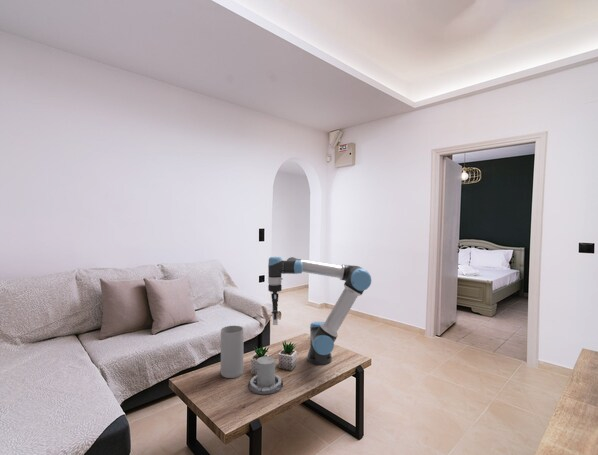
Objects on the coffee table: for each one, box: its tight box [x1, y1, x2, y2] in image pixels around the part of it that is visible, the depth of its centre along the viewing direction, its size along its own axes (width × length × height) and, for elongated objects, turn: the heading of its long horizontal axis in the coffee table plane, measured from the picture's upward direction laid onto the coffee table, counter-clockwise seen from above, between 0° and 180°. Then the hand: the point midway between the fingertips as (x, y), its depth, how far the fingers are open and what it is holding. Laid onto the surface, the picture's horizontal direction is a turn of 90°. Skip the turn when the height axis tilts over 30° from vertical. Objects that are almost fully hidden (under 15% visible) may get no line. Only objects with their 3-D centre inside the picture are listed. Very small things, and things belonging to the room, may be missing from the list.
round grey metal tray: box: [248, 373, 284, 396], centre depth 165 cm, size 18×18×2 cm
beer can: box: [256, 355, 276, 387], centre depth 165 cm, size 10×10×12 cm
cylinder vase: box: [220, 325, 244, 379], centre depth 178 cm, size 12×12×25 cm
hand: (274, 320), depth 181 cm, fingers open, 13 cm apart
